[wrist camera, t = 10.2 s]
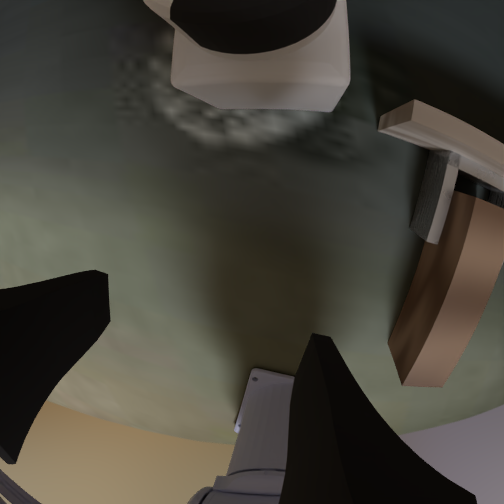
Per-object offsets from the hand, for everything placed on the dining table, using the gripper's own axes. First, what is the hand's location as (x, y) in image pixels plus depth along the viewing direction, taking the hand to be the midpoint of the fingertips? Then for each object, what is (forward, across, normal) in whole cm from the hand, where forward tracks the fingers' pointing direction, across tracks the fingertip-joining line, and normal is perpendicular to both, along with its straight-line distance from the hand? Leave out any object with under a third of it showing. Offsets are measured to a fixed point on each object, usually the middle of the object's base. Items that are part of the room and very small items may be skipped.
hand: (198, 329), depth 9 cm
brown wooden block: (+11, -13, -1) cm, 17 cm away
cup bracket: (+10, -13, -6) cm, 18 cm away
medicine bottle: (+11, +1, -12) cm, 16 cm away
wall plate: (+10, -13, -9) cm, 19 cm away
